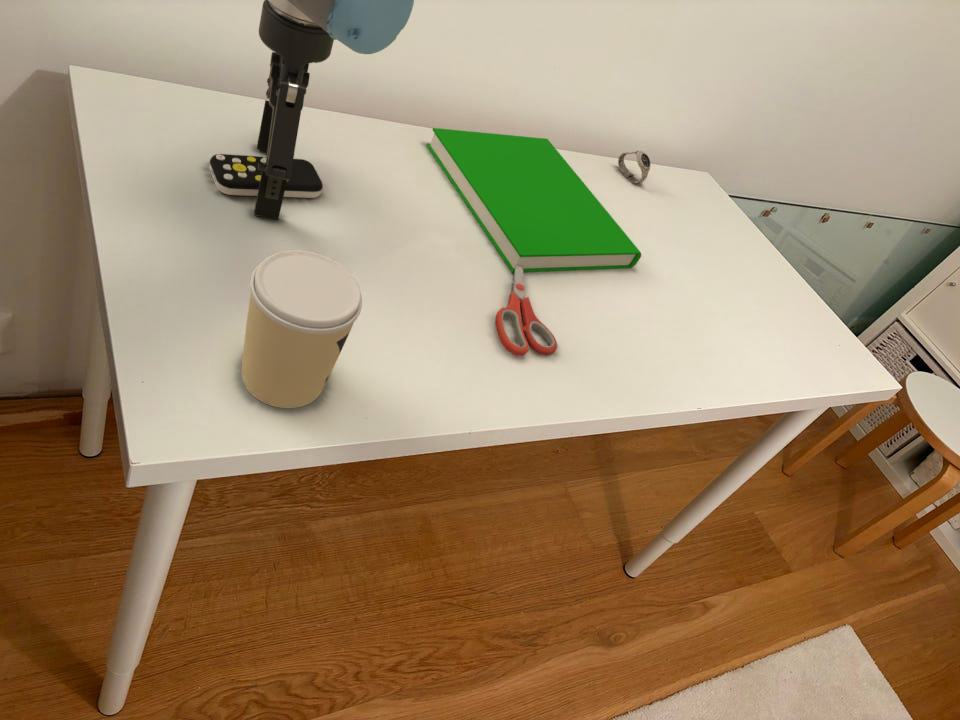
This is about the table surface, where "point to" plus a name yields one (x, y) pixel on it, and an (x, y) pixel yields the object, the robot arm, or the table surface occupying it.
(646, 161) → the wristwatch
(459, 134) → the book
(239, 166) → the remote control
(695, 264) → the table surface
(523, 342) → the scissors
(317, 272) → the coffee cup
